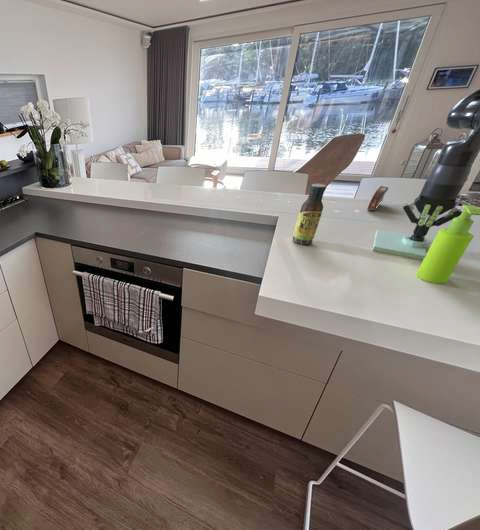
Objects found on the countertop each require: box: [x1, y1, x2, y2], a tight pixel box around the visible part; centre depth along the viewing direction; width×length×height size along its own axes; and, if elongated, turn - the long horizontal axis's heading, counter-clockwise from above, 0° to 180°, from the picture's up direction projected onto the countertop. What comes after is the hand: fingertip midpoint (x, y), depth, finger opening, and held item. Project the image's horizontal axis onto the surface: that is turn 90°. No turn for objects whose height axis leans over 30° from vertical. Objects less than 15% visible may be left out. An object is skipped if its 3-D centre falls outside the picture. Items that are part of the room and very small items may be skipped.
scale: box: [372, 228, 431, 261], centre depth 92 cm, size 12×16×3 cm
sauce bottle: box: [291, 183, 327, 245], centre depth 95 cm, size 6×6×20 cm
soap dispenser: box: [415, 204, 480, 285], centre depth 72 cm, size 6×7×20 cm
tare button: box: [410, 234, 426, 242], centre depth 89 cm, size 3×3×2 cm
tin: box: [367, 185, 389, 211], centre depth 118 cm, size 15×3×8 cm, turn 133°
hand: (418, 236), depth 89 cm, fingers closed
